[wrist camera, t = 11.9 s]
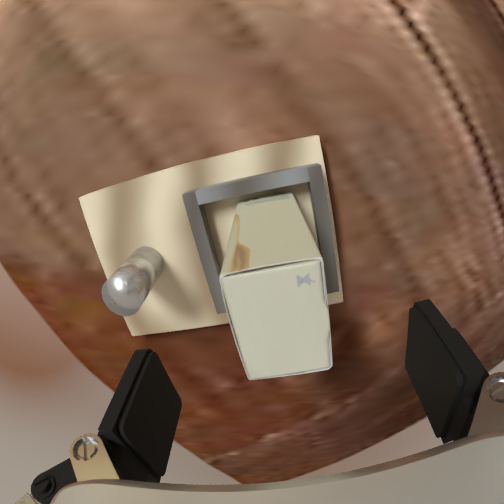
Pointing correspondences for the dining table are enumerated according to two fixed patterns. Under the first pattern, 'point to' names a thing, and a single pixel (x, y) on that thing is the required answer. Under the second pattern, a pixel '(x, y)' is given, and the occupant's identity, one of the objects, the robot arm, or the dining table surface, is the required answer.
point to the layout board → (206, 225)
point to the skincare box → (276, 290)
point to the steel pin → (133, 281)
